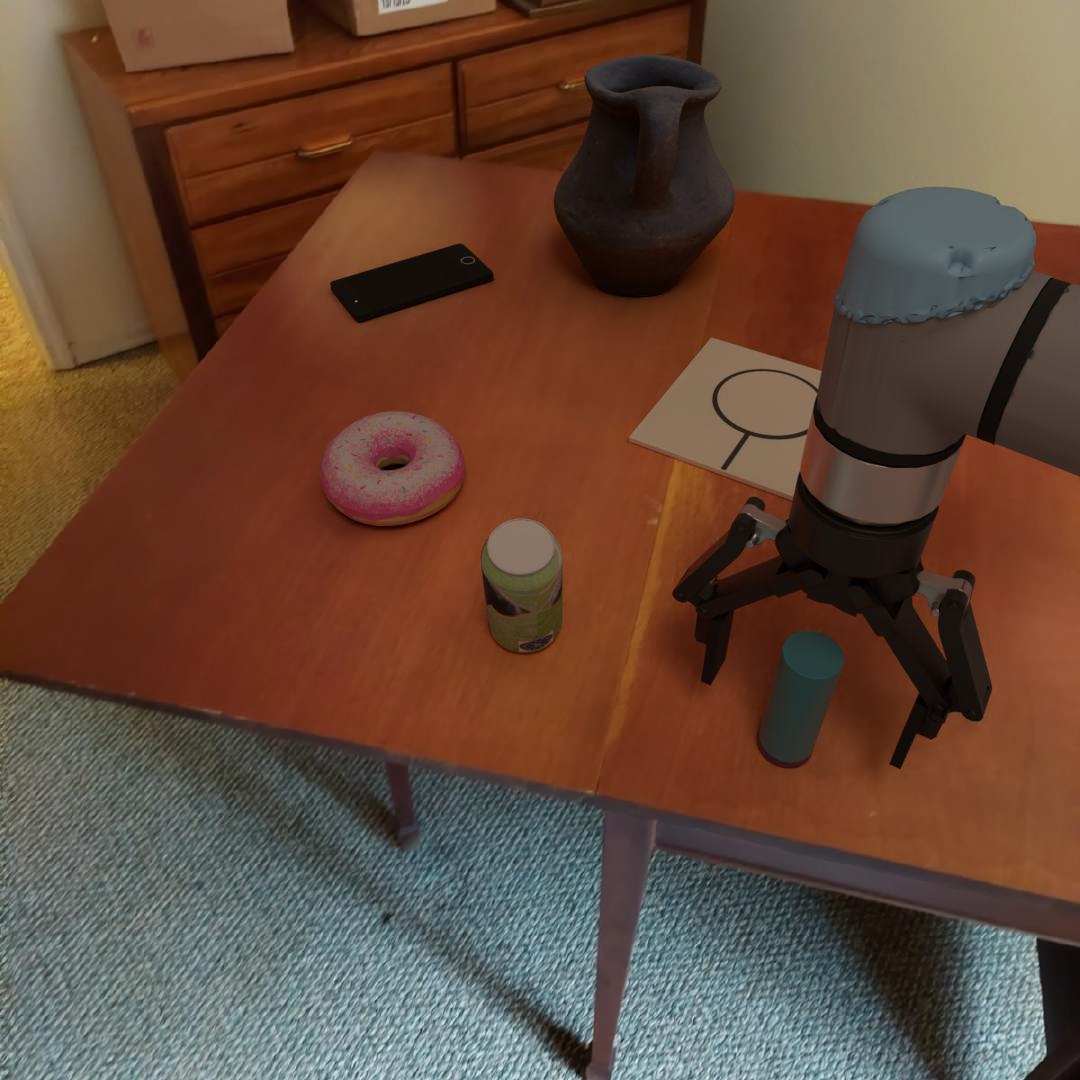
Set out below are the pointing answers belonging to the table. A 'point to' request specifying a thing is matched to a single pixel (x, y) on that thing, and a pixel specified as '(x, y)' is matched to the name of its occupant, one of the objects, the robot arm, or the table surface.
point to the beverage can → (523, 585)
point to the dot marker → (799, 698)
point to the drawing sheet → (736, 416)
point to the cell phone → (410, 281)
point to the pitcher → (644, 175)
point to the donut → (398, 492)
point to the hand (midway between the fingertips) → (803, 709)
